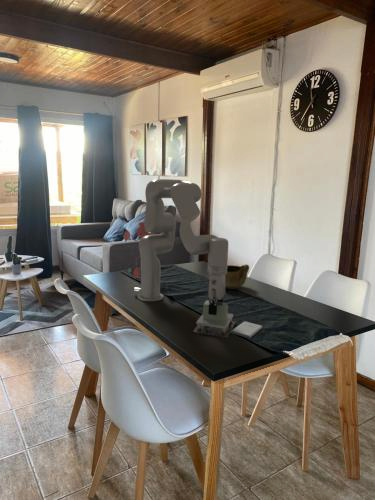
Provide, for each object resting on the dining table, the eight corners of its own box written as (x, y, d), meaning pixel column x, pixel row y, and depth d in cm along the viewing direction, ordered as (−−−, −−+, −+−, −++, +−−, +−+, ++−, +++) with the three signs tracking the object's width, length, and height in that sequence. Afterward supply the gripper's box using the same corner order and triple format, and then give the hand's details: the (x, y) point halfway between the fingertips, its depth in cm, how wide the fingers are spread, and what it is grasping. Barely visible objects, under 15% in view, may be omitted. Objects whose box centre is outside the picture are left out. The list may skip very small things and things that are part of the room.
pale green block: (202, 318, 149) (203, 302, 148) (206, 314, 154) (206, 299, 152) (224, 321, 146) (225, 305, 145) (227, 317, 151) (228, 301, 150)
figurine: (120, 278, 218) (121, 219, 210) (159, 273, 231) (161, 217, 224) (131, 285, 205) (131, 222, 198) (171, 279, 219) (173, 221, 211)
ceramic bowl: (256, 290, 202) (258, 263, 199) (233, 295, 191) (235, 267, 189) (228, 280, 219) (229, 255, 216) (206, 285, 209) (207, 259, 206)
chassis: (192, 332, 145) (193, 322, 144) (203, 317, 160) (204, 309, 159) (227, 337, 141) (228, 327, 140) (235, 322, 156) (236, 313, 155)
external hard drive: (230, 334, 146) (244, 324, 156) (249, 339, 141) (262, 329, 151) (230, 330, 145) (244, 320, 155) (249, 335, 141) (262, 325, 151)
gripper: (221, 275, 137) (219, 319, 140) (231, 265, 153) (228, 304, 156) (202, 273, 139) (200, 316, 142) (213, 263, 155) (211, 302, 158)
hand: (215, 310), depth 149 cm, fingers open, 9 cm apart
